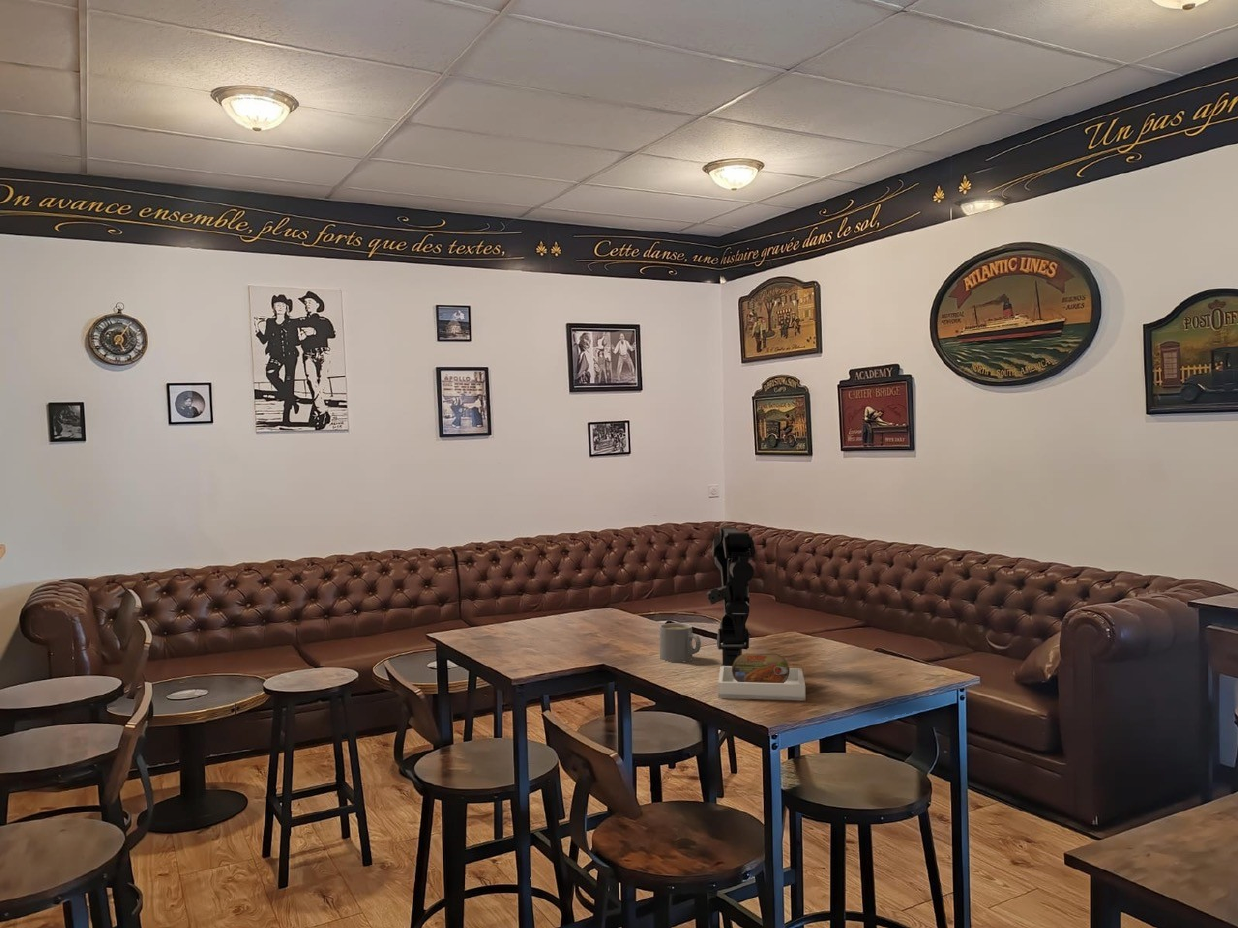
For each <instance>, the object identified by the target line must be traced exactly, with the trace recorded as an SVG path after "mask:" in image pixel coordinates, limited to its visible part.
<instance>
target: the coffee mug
mask: <svg viewBox="0 0 1238 928" xmlns="http://www.w3.org/2000/svg"><path fill="white" fill-rule="evenodd" d="M693 640H694V641H695V648H694V647H693V646H694V645H693ZM701 646H702V642H701V637H700V636H699V635H698V634H695V633H693V625H692V624H689V623H683V622H682V623H681V622H671V623H670V622H669V623H663V624H660V625H659V660H661V659H662V660H665V661H664V662H666V661H668V662H667V663H684V662H683V661H687V662H690V661H692V660H693V655H695V654H698V653H699V652H700V649H701ZM691 659H692V660H691ZM662 660H661V661H662ZM689 660H690V661H689Z"/></svg>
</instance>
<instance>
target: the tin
mask: <svg viewBox="0 0 1238 928" xmlns="http://www.w3.org/2000/svg"><path fill="white" fill-rule="evenodd" d="M789 668H790V665H789V663H788V662H787V660H786V659H785V658H784V657H783V656H782V655H780V654H777V653H746V652H745V653H742V655H740V656H738V657H737V658H736V659H735V661H734V663H733V665H732V674H733V676H734V678H735V680H736V681H737V682H754V683H784V682H785V681H786V680H787V679H788V676H789V672H790V670H789Z"/></svg>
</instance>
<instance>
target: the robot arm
mask: <svg viewBox="0 0 1238 928" xmlns="http://www.w3.org/2000/svg"><path fill="white" fill-rule="evenodd" d="M755 555H756V548H755V541H754V539H753V537H752V535H750V533H749V531H748V532H747V531H739V530H738V527H733V526H732V527H731V526H730V527H729V526H725V527H724V526H723V527H720V529H719V533H717V535H716V536H715V537H714V538H713V539H712V546H711V556H712V557H713V558H714V564H715V566H716V567H717V568H718V570H719V571H720V577H721V587H714V588H713V589H712V588H711V589H710V590H708V591H707V592H706V596H707V599H708V601H709V603H710V605H714V604H715V605H716V603H718V602H721V601H722V602H723V603H722V605H723V606H722V607H723V617H722V619H721V620H720V624H719V628H718V629H717V635H716V647H717V649H718V650H719V651H720V650H722V651H721V652H722V653H721V654H722V657H721V658H722V660H721V663H722V664H720V666H732V665H733V663H734V661H735V659H736V658H737V657H738V656H740V655H742V654H743V650H748V649H749V648H750V636H751V633H750V632H749V629H748V627H746V623H747V621H748V618H749V616H750V595H749V582H750V581H751V580H752V579H753V578H754V574H755V570H754V566H753V565H752V564H751V563H750V561H749V559H754V558H755Z"/></svg>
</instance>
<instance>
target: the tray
mask: <svg viewBox="0 0 1238 928" xmlns="http://www.w3.org/2000/svg"><path fill="white" fill-rule="evenodd" d="M789 670H790V672H789V676H788V679H787V680H786V681H785V682H784V683H754V682H737V681H736V680H735V678H734V676H733V674H732V666H721V665H720V667H719V675H718V682H717V690H718V691H717V698H718V699H740V700H772V701H775V700H776V701H777V700H778V701H806V683H805V678H804V677H805V676H804V674H803V673H804V672H803V670H802V667H789Z"/></svg>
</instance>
